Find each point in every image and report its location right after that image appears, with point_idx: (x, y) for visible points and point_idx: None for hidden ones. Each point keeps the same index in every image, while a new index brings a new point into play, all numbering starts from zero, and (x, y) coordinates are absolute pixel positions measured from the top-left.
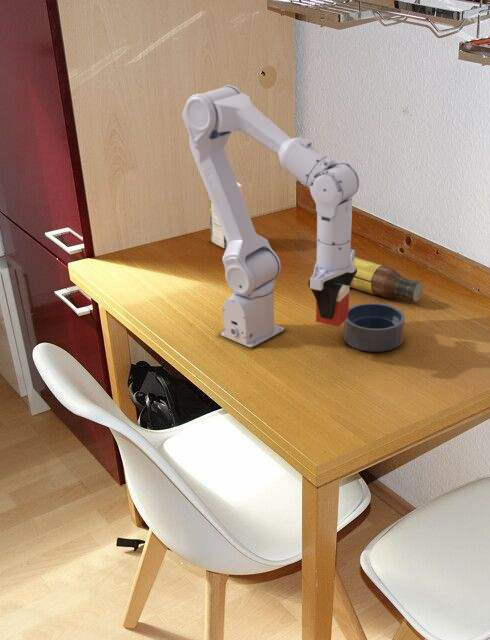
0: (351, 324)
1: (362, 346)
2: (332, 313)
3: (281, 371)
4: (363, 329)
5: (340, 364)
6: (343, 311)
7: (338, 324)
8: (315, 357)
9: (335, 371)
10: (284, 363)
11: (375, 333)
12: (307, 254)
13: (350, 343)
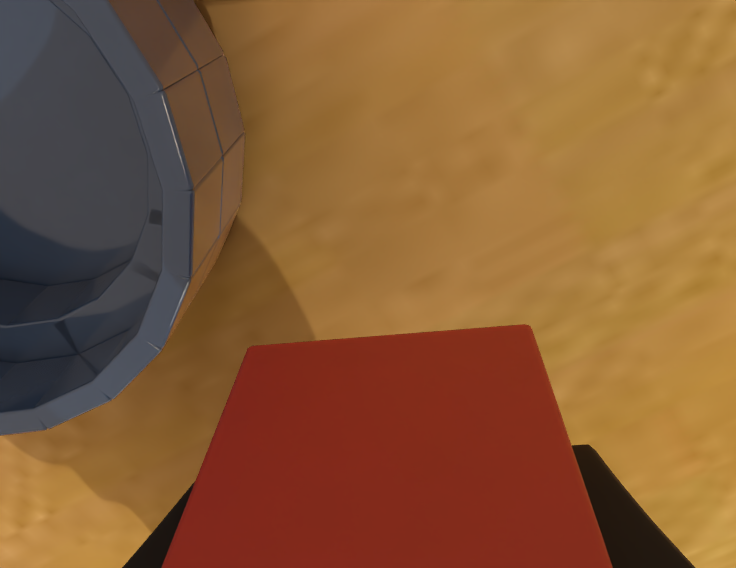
0: (182, 291)
1: (232, 111)
2: (624, 494)
3: (729, 414)
4: (184, 152)
5: (479, 155)
6: (401, 415)
7: (535, 340)
8: None
9: (591, 136)
10: (629, 442)
11: (138, 21)
12: None
13: (233, 220)
